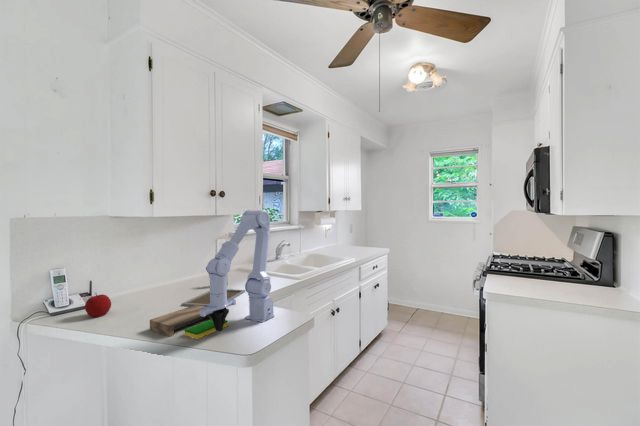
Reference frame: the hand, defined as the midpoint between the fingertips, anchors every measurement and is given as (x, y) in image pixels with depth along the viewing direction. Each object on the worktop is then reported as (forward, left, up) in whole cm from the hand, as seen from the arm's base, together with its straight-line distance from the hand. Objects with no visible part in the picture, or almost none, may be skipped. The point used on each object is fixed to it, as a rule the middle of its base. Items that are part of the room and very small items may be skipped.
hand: (219, 330), depth 105 cm
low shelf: (+19, 0, -1) cm, 19 cm away
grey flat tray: (+36, -31, -2) cm, 48 cm away
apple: (+61, +11, -1) cm, 62 cm away
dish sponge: (+6, 0, -2) cm, 7 cm away
